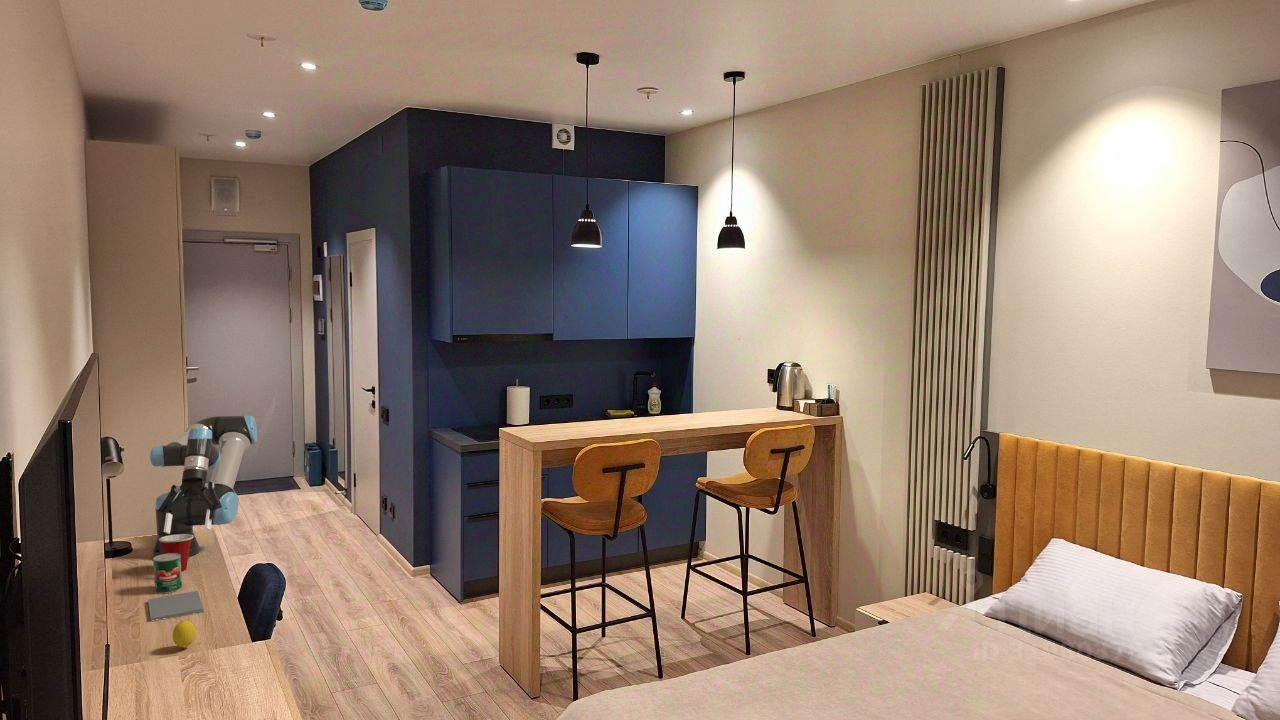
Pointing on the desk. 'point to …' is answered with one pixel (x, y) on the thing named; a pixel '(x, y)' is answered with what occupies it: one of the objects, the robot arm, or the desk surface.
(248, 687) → the desk surface
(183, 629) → the lemon
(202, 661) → the desk surface
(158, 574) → the canned tomato
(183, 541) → the plastic cup
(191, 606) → the mat
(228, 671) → the desk surface
